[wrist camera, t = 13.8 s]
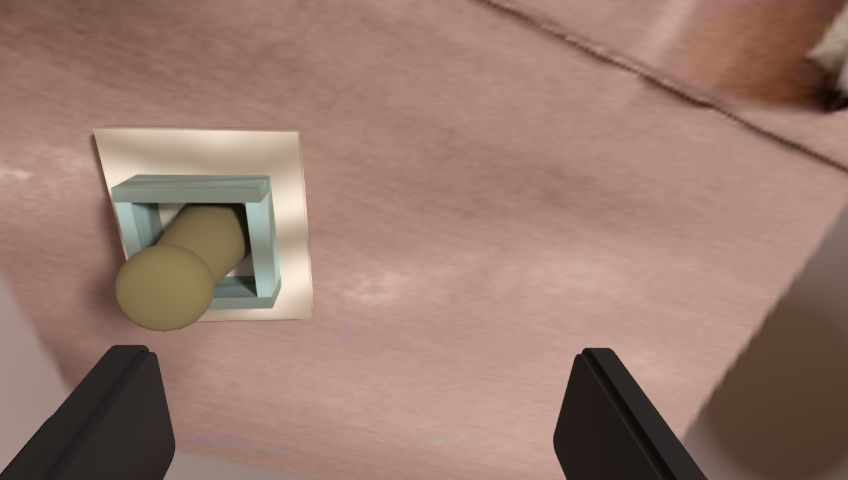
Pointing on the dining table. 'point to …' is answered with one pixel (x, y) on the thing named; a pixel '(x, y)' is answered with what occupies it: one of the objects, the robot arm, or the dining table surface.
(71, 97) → the dining table surface
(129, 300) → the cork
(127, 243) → the shaker caddy
